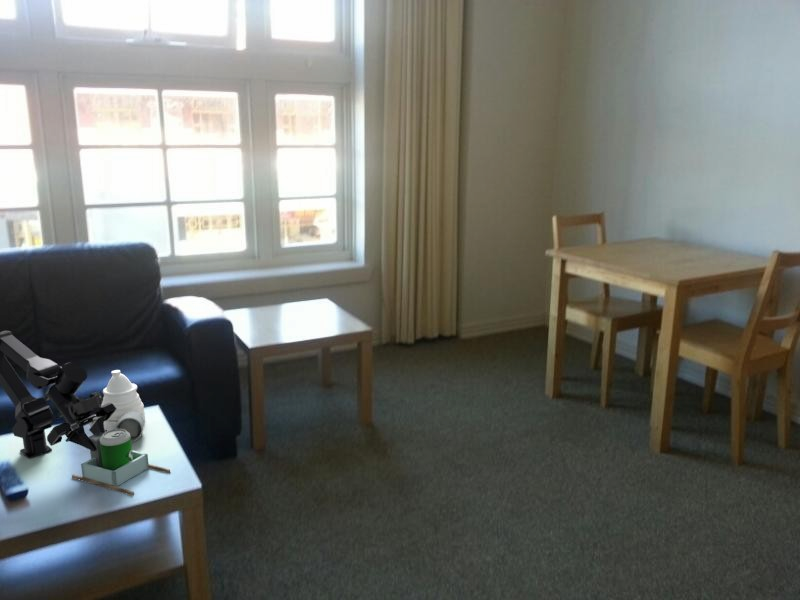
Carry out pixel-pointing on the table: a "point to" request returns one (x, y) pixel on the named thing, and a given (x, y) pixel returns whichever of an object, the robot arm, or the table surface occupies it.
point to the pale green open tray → (98, 473)
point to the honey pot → (121, 398)
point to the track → (115, 486)
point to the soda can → (116, 449)
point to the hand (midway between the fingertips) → (101, 447)
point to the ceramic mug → (131, 424)
